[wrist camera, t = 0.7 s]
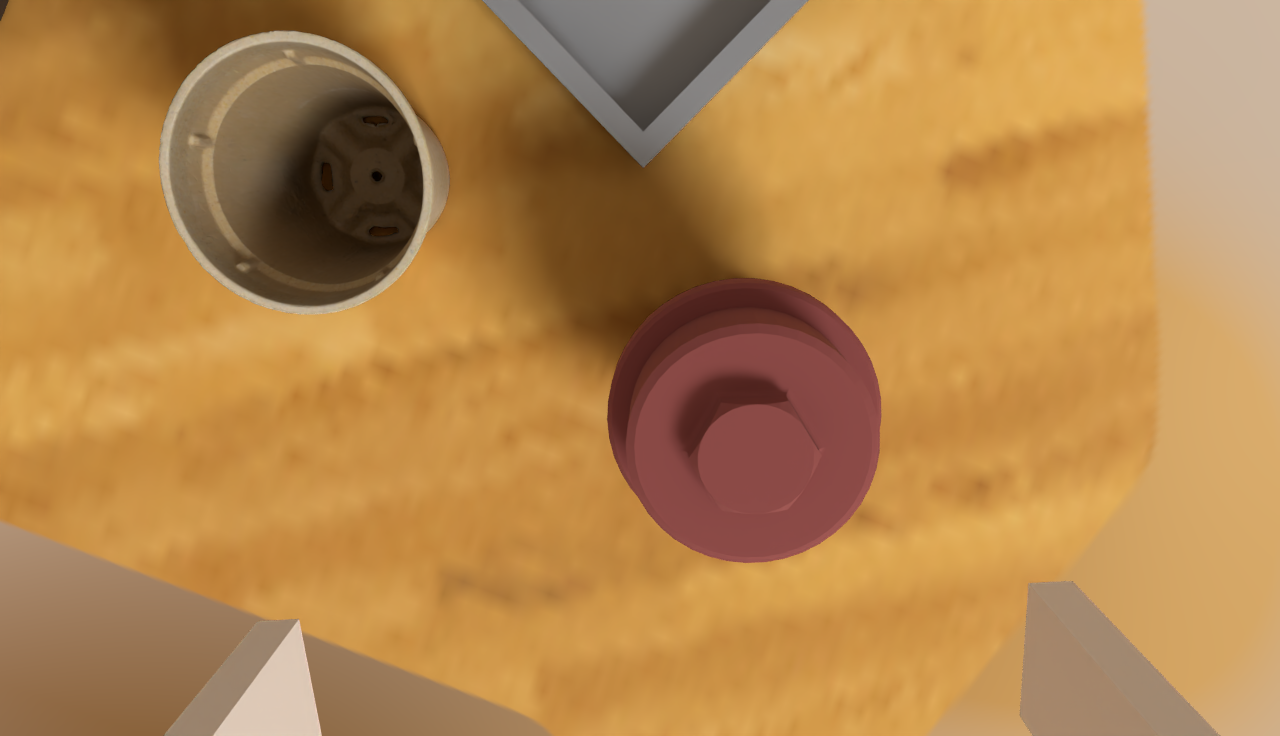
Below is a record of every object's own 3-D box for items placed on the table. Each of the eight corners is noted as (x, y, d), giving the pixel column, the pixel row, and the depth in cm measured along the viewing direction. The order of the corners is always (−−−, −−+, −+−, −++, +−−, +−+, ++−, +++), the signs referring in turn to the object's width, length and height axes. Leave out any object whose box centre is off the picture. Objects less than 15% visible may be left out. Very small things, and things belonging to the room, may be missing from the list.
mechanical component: (767, 502, 40) (582, 407, 39) (879, 322, 37) (684, 216, 36) (810, 651, 28) (544, 517, 27) (979, 398, 25) (693, 244, 25)
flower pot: (234, 119, 36) (103, 107, 28) (423, 21, 35) (345, -22, 26) (340, 313, 38) (248, 356, 30) (522, 227, 37) (480, 247, 28)
